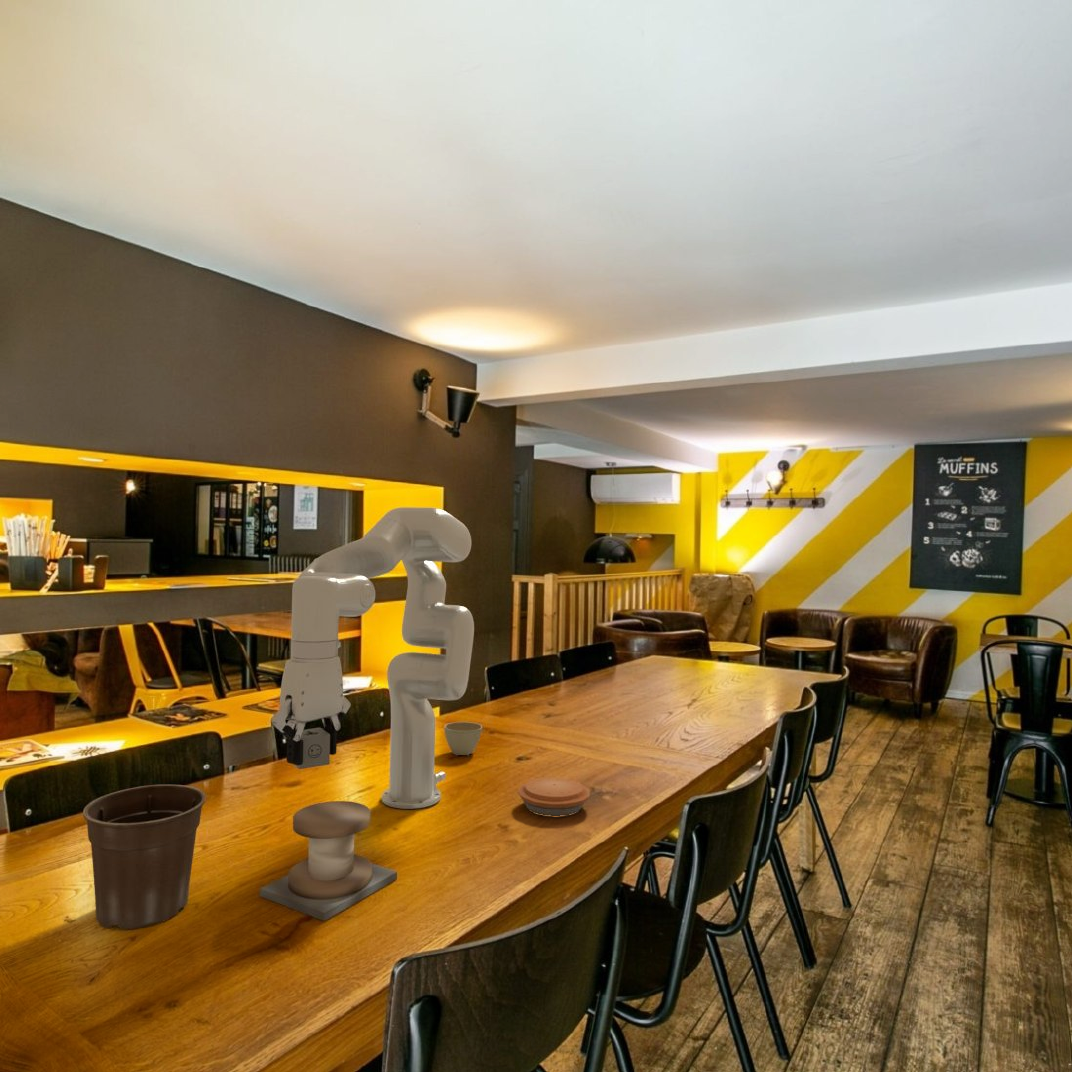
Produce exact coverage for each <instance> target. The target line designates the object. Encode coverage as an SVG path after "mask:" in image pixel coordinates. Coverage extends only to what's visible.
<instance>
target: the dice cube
mask: <svg viewBox="0 0 1072 1072" xmlns="http://www.w3.org/2000/svg"><path fill="white" fill-rule="evenodd" d="M300 740H303V763H302V765H295V764H293V766H294V767H296V768H297V769H298V770H304V769H309V768H316V767H323V766H328V765H330V764H331V763H330V762H331V760H330V759H331V758H330V757H331V755H330V734H329V733H327V732H326V731H325V730H323V729H322V727H315V728H307V729H303V732H302V735H301V738H300Z"/></svg>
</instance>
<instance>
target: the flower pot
mask: <svg viewBox="0 0 1072 1072" xmlns="http://www.w3.org/2000/svg"><path fill="white" fill-rule="evenodd" d="M443 727H444V736H445V739H446V743H447V745H448V747H449V749H450V751H451V752H452V754H453V755H454V754H455V755H454V756H458V755H467V756H470V755H469V754H471V753H472V754H473V753H474V751H475V749H477V745H478V744H479V741H480V738H481V735H482V730H483V726H482V724H479V723H477V722H470V721H457V722H455V721H454V722H450V723H446V724H445V725H444V726H443ZM472 754H471V755H472Z"/></svg>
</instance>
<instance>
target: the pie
mask: <svg viewBox="0 0 1072 1072" xmlns="http://www.w3.org/2000/svg"><path fill="white" fill-rule="evenodd" d="M517 794H518V795H519V797H520V799H522V801H523V803H524V805H525V806H527V807H526V808H527V809H529V810H531V811H532V812H535V813H538V814H543V815H551V816H560V815H569V814H572V813H575V812H577V811H579V812H580V810H581V809H582V808H583V805H584V804H585V803H586V802H587V801H588V799H589V798H590V795H591V790H590V789H589V788H588V787H586V786H585V785H584V784H582V783H581V782H578V781H577V780H573V779H570V778H566V777H565V778H564V777H559V776H558V777H556V776H548V777H547V776H546V777H538V778H534V779H531V780H529V781H527V782H525V783H523V784H521V785H520V786H519V787H518V788H517ZM529 810H528V811H529ZM531 811H530V812H531ZM532 812H531V813H532ZM577 813H578V812H577Z"/></svg>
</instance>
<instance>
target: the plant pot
mask: <svg viewBox="0 0 1072 1072" xmlns="http://www.w3.org/2000/svg"><path fill="white" fill-rule="evenodd" d="M206 800H207V795H206V793H205V792H204V791H202V790H201V789H199V788H197V787H194V786H189V785H182V784H151V785H143V786H142V785H140V786H137V787H131V788H126V789H121V790H118V791H115V792H111V793H108V794H105V795H103V796H100V797H97V798H96V799H94V800H92V801H90V802H88V804H87V805H86V806H85V807H84V808H83V811H82V813H83V818H84V820H85V821H86V826H87V837H88V838H87V839H88V841H89V843H90V845H91V846H90V848H91V859H92V870H93V871H92V873H93V886H94V902H95V918H96V920H97V922H98V923H99V924H100V925H101V926H103V927H105V928H109V929H110V928H113V927H115V926H116V927H119V928H121V929H122V931H123V930H133V929H139V928H148V927H150V926H154V925H157V924H160V923H162V922H164V921H168V920H170V919H172V918H173V917H175V916H177V914H178V913H179V911H180V910H181V909H185V908H186V906H187V905H188V900H189V893H190V892H189V889H190V883H191V882H190V881H191V874H192V865H193V859H194V854H195V853H194V851H195V845H196V844H195V843H196V837H197V829H198V828H199V826H200V823H201V816H202V809H203V805H204V804H205V803H206Z"/></svg>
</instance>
